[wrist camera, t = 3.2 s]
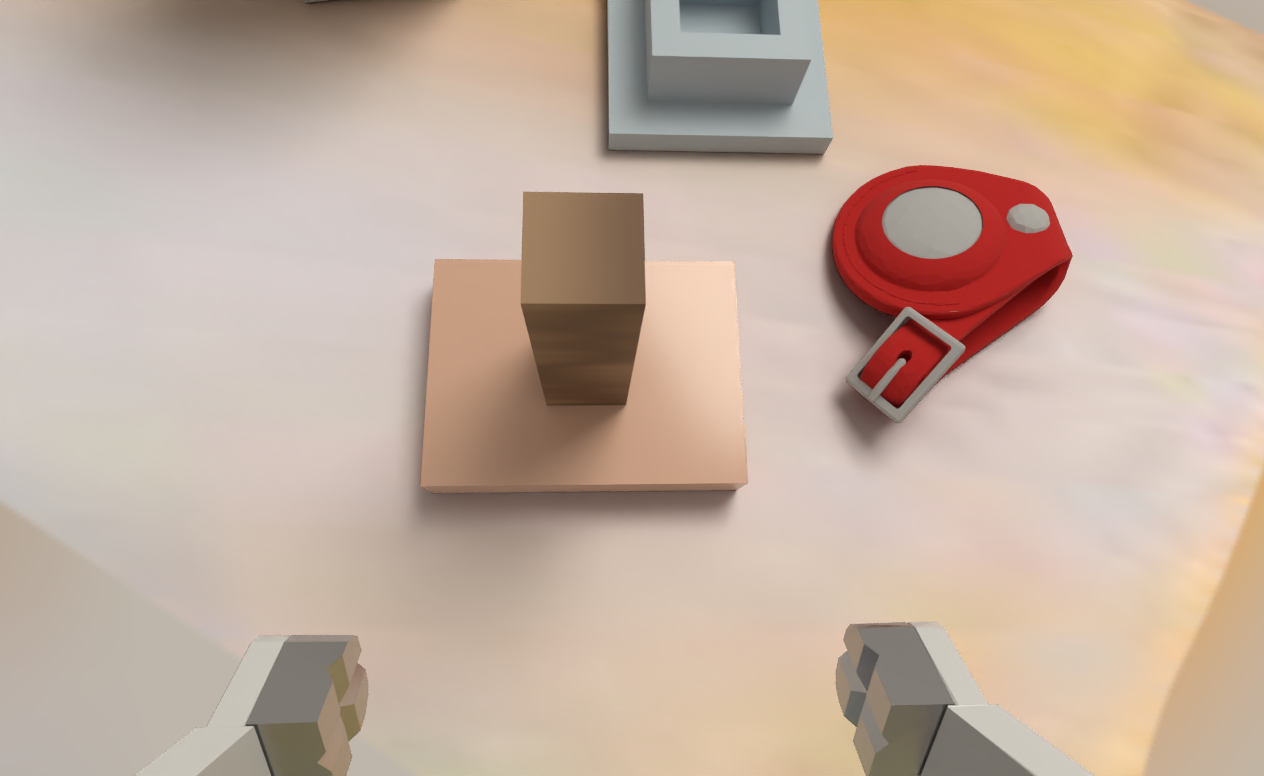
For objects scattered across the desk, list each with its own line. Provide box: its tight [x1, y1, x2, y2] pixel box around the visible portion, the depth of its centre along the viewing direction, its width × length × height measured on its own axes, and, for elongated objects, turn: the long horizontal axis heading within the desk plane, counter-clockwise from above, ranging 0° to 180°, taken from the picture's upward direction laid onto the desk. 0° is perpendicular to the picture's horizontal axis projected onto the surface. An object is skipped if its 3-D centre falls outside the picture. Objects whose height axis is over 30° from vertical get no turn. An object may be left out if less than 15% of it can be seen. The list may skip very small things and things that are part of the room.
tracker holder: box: [832, 165, 1072, 423], centre depth 29 cm, size 12×4×10 cm
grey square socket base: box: [607, 0, 833, 154], centre depth 31 cm, size 10×10×4 cm
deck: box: [420, 259, 748, 493], centre depth 28 cm, size 12×9×2 cm
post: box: [520, 192, 646, 406], centre depth 22 cm, size 3×3×10 cm
